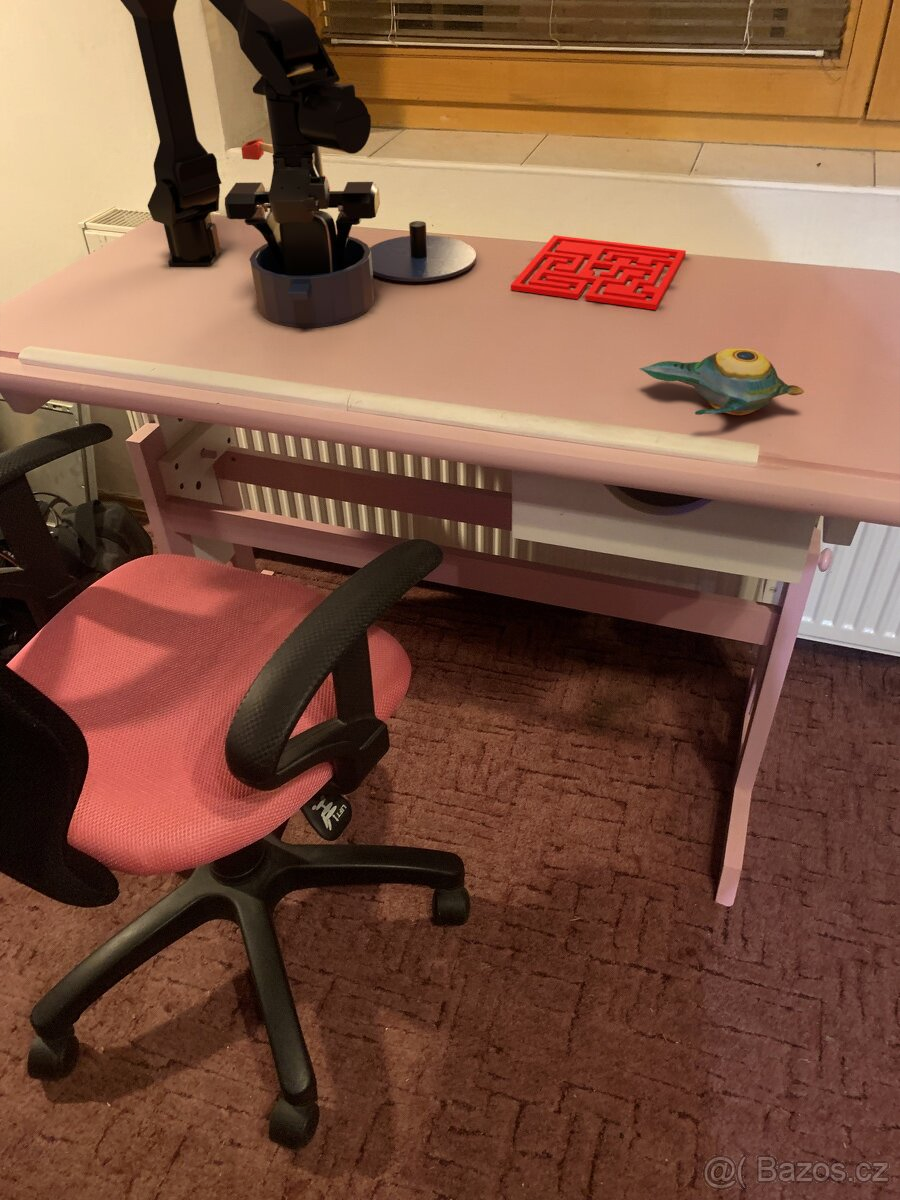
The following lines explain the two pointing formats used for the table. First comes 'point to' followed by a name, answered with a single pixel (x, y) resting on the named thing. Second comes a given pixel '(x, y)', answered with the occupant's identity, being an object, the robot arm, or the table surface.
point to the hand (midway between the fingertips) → (311, 268)
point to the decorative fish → (728, 380)
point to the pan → (314, 289)
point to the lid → (421, 256)
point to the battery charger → (309, 245)
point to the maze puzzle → (615, 288)
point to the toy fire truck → (258, 150)
